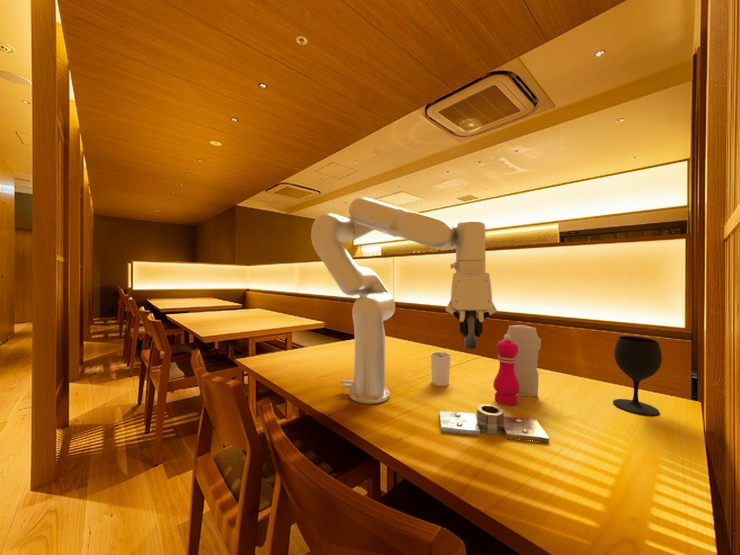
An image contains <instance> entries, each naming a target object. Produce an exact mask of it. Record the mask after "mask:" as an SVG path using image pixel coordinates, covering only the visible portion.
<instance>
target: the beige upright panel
mask: <svg viewBox="0 0 740 555" xmlns="http://www.w3.org/2000/svg"><path fill="white" fill-rule="evenodd" d="M505 335H509V336H510V337H511V339H510V340H511V341H513V342H515V343H516V344H517V346H518V353H517V355H516V356H515V357H516V362H515V363H514V372H515V376H516V378H517V380H518V382H519V388H520V390H519V392H518V393H517V394H516V396H522V397H530V396H531V397H532V398H538V397H539V372H538V364H539V363H538V361H539V359H538V357H539V351H540V350H541V347H542V346H541V345H542V343H541V342H542V338H540V337H539V336H538V332H537V328H536V327H531V326H528V325H525V324H524V325H523V324H518V325H509V326H508V329H507V331H506V333H505V334H503V340H505V339H504V337H505Z"/></svg>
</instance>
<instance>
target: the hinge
mask: <svg viewBox="0 0 740 555" xmlns="http://www.w3.org/2000/svg"><path fill="white" fill-rule="evenodd" d="M439 422H440V423H439V424H440V433H449V434H456V435H457V434H459V435H468V436H476V437H477V436H478V437H480V436H481V432H482V433H485V434H489V435H500V434H502V433H505V434H504V435H506V436H505V438H506V437H507V438H512V439H511V440H514V439H520V440H519V441H524V440H531V441H530V442H533V441H540V442H539V443H542V442H547V443H546V444H550V438H549V436H548V434H547V433H546V432H545V430H544V429H543V427H542V426H541V424H539V422H538V421H537V419H534V418H525V417H514V416H505V412H504V410H503V409H502V408H501V407H499V406H496V405H494V404H487V403H482V404H479V405H477V406H476V414H475V413H472V412H471V413H469V412H461V411H449V410H439ZM507 438H506V439H507ZM532 440H533V441H532Z"/></svg>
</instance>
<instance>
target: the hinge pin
mask: <svg viewBox="0 0 740 555" xmlns="http://www.w3.org/2000/svg"><path fill="white" fill-rule="evenodd" d="M464 319H465V322H466V337H464V348H465V349H471V350H475V349H477V348H478V346H477V338H478V337H477V311H465V315H464Z"/></svg>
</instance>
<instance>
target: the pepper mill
mask: <svg viewBox="0 0 740 555" xmlns="http://www.w3.org/2000/svg"><path fill="white" fill-rule="evenodd" d="M504 335H505V334H504ZM504 339H505V340H504ZM510 339H511V337H510V336H509V335H505V337H504V336H503V339H502V340H500V341H498V343H497V344H496V347H495V348H496V352H497V354H498V355H497V357H498V358H497V360H498V361H499V368H498V371H497V374H496V375H495V378H494V380H493V388H494V390H495V391H496V392H494V401H496V402H498V404H500V405H501V404H502V405H506V406H513V405H517V404H518V395H517V393H518V392H519V390H520V388H519V382H518V380H517V378H516V376H515V372H514V363H515V362H516V357H515V356H516V355H517V353H518V346H517V344H516V343H515V342H513V341H511V340H510Z"/></svg>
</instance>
